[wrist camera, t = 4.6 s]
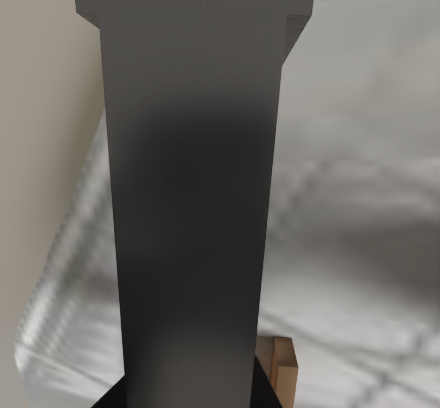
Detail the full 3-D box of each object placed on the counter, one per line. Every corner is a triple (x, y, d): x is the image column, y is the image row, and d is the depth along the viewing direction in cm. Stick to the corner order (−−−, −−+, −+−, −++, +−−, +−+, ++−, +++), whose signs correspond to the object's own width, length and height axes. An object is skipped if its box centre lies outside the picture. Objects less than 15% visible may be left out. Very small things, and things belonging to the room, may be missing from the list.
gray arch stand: (323, 14, 10) (598, -391, 2) (272, 413, 15) (301, 695, 8) (143, 11, 10) (-138, -322, 3) (156, 399, 16) (74, 651, 8)
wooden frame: (291, 338, 23) (298, 367, 20) (279, 440, 27) (283, 478, 24) (158, 327, 24) (147, 353, 21) (162, 427, 27) (153, 462, 25)
